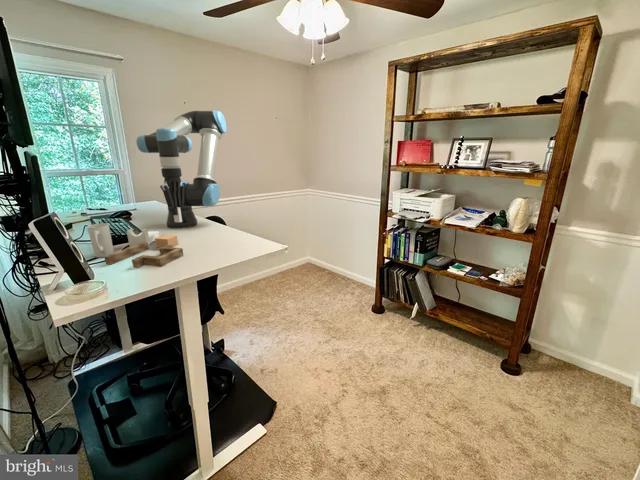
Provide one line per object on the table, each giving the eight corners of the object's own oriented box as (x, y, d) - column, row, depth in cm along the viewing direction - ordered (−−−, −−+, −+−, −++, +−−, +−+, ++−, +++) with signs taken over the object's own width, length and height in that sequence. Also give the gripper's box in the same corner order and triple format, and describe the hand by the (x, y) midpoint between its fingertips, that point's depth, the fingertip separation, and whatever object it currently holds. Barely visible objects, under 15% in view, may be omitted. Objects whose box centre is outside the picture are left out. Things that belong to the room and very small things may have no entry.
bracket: (147, 247, 129) (144, 230, 126) (130, 248, 128) (126, 231, 126) (159, 238, 141) (157, 222, 139) (143, 239, 140) (140, 223, 138)
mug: (97, 253, 121) (90, 224, 117) (116, 251, 123) (110, 222, 120) (89, 261, 112) (81, 230, 109) (110, 259, 114) (103, 228, 111)
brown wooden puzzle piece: (144, 248, 126) (143, 242, 125) (188, 252, 121) (187, 245, 120) (106, 264, 109) (104, 256, 108) (154, 270, 104) (153, 262, 103)
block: (166, 244, 132) (164, 234, 131) (178, 245, 131) (176, 235, 130) (156, 248, 127) (154, 238, 125) (169, 249, 125) (167, 239, 124)
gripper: (174, 166, 134) (180, 218, 141) (151, 168, 122) (160, 224, 129) (188, 166, 133) (194, 219, 139) (167, 168, 121) (175, 225, 127)
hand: (178, 221), depth 134 cm, fingers closed
